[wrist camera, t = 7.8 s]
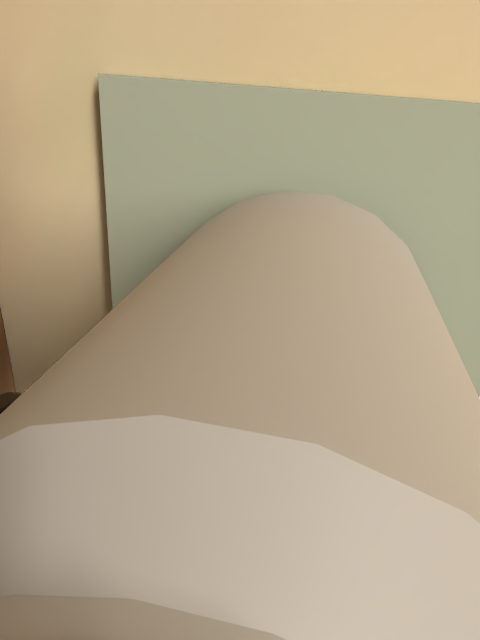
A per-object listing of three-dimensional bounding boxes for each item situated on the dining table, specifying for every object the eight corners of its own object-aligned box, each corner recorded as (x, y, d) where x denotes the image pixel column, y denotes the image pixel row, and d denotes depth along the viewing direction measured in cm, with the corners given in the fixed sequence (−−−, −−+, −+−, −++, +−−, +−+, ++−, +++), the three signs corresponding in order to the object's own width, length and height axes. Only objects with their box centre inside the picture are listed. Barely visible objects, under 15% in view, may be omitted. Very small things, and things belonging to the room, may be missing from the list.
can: (192, 405, 16) (-74, 964, 6) (160, 191, 13) (-544, 560, 3) (414, 416, 15) (600, 1204, 4) (436, 176, 12) (1344, 912, 1)
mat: (441, 477, 16) (444, 489, 16) (126, 416, 18) (119, 425, 18) (574, 110, 11) (586, 111, 11) (108, 74, 13) (98, 73, 12)
